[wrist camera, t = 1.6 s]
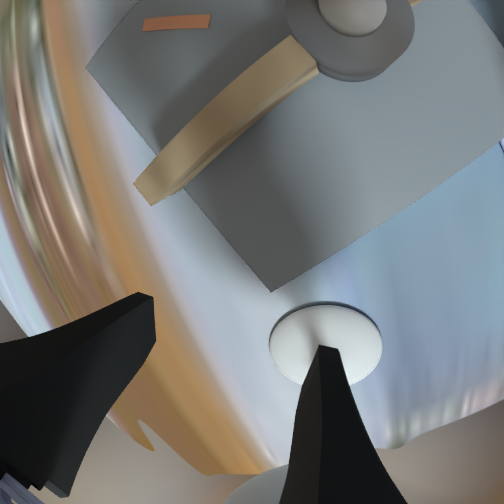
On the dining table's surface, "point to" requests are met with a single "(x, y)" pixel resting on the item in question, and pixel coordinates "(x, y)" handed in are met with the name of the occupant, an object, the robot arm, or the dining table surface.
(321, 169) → the grey flat slab
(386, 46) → the curved bar with hub
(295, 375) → the wineglass
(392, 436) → the dining table surface
